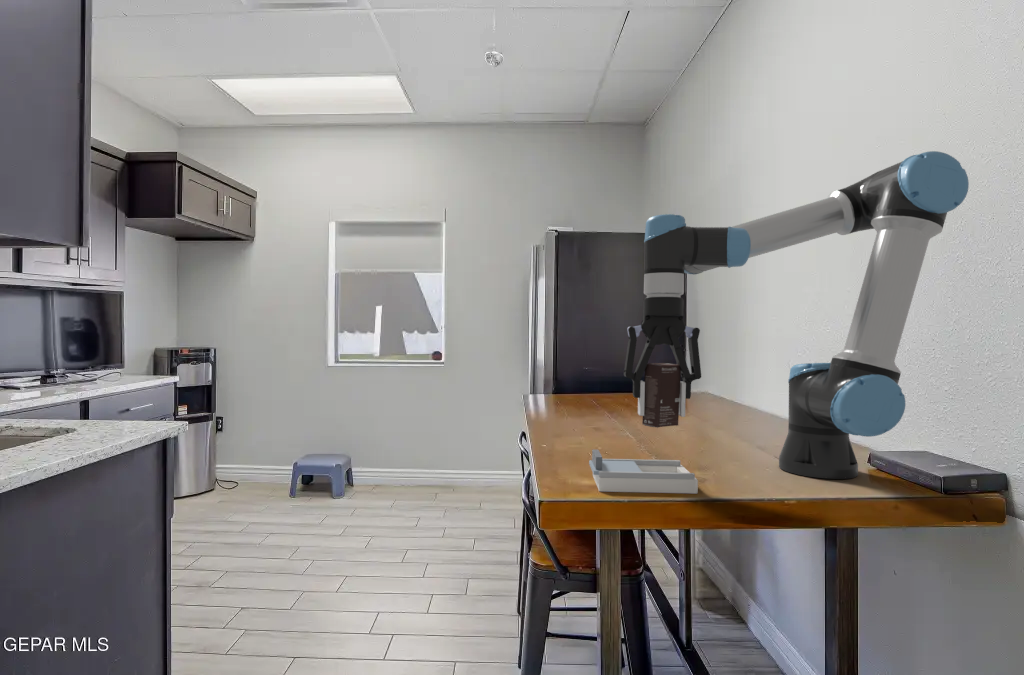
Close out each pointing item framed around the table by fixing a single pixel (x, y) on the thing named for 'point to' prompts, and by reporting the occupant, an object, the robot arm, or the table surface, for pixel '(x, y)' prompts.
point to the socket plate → (649, 478)
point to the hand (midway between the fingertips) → (661, 415)
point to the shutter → (610, 464)
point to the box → (661, 394)
